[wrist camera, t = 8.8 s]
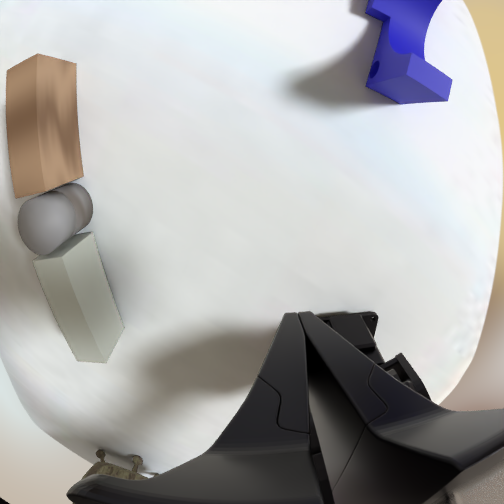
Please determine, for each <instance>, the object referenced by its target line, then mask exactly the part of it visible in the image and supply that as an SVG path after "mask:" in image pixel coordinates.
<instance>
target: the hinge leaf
mask: <svg viewBox="0 0 504 504" xmlns="http://www.w3.org/2000/svg"><path fill="white" fill-rule="evenodd" d="M75 227H76V214H75V210H74V207H73V205H72V203H71V201H70V200H69V199H68V197H67V196H65V195H64V194H63V193H61V192H59V191H49V192H46V193H44V194H42V195H39V196H37V197H35V198H33V199H30V200H28V201H26V202H25V203H24V204H23V205H22V207H21V208H20V211H19V214H18V228H19V232H20V235H21V238H22V240H23V242H24V243H25V245H26V246H27V247H28V248H29V249H30V250H31V251H32V252H34V253H36V254H39V256H38V257H37V258H36V259H34V260H33V261H32V262H33V265H34V268H35V270H36V273H37V276H38V278H39V281H40V284H41V286H42V289H43V291H44V294H45V296H46V298H47V301H48V303H49V305H50V308H51V310H52V312H53V314H54V317H55V319H56V321H57V323H58V325H59V327H60V329H61V331H62V333H63V335H64V337H65V339H66V341H67V343H68V345H69V347H70V349H71V351H72V353H73V354H74V356H75V358H76V360H77V361H80V362H93V363H107V361H108V359H109V357H110V355H111V353H112V351H113V349H114V347H115V345H116V343H117V341H118V339H119V338H120V336H121V334H122V332H123V330H124V328H125V327H124V325H123V322H122V320H121V317H120V315H119V312H118V309H117V307H116V304H115V301H114V298H113V295H112V293H111V290H110V287H109V284H108V281H107V278H106V275H105V272H104V268H103V265H102V262H101V259H100V255H99V252H98V248H97V245H96V241H95V238H94V234H93V232H89V233H83V234H77V235H73V233H74V231H75ZM72 235H73V236H72ZM71 236H72V237H71ZM70 237H71V238H70Z"/></svg>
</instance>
